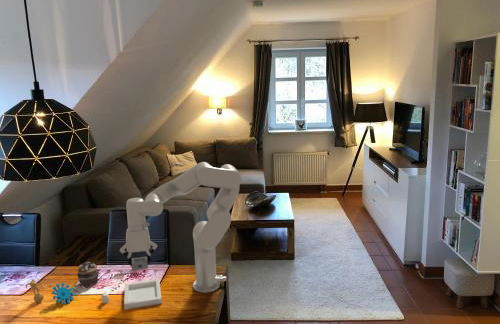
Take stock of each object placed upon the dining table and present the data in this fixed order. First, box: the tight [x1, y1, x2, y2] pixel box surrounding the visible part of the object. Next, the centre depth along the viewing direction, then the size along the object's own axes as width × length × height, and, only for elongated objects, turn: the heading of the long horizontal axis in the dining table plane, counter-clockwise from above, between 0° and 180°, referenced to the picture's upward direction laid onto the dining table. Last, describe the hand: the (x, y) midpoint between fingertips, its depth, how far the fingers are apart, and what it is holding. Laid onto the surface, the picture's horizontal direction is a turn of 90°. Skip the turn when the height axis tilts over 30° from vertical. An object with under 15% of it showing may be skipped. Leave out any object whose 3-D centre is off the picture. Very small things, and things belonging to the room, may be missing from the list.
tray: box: [123, 278, 163, 310], centre depth 181 cm, size 16×18×2 cm
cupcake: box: [77, 260, 99, 288], centre depth 192 cm, size 10×10×10 cm
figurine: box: [25, 278, 45, 303], centre depth 176 cm, size 8×6×12 cm
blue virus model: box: [51, 282, 76, 305], centre depth 179 cm, size 11×6×10 cm
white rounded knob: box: [101, 291, 110, 304], centre depth 177 cm, size 3×4×4 cm
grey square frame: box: [131, 256, 149, 271], centre depth 177 cm, size 7×8×3 cm
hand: (139, 263), depth 178 cm, fingers closed on grey square frame, 6 cm apart
